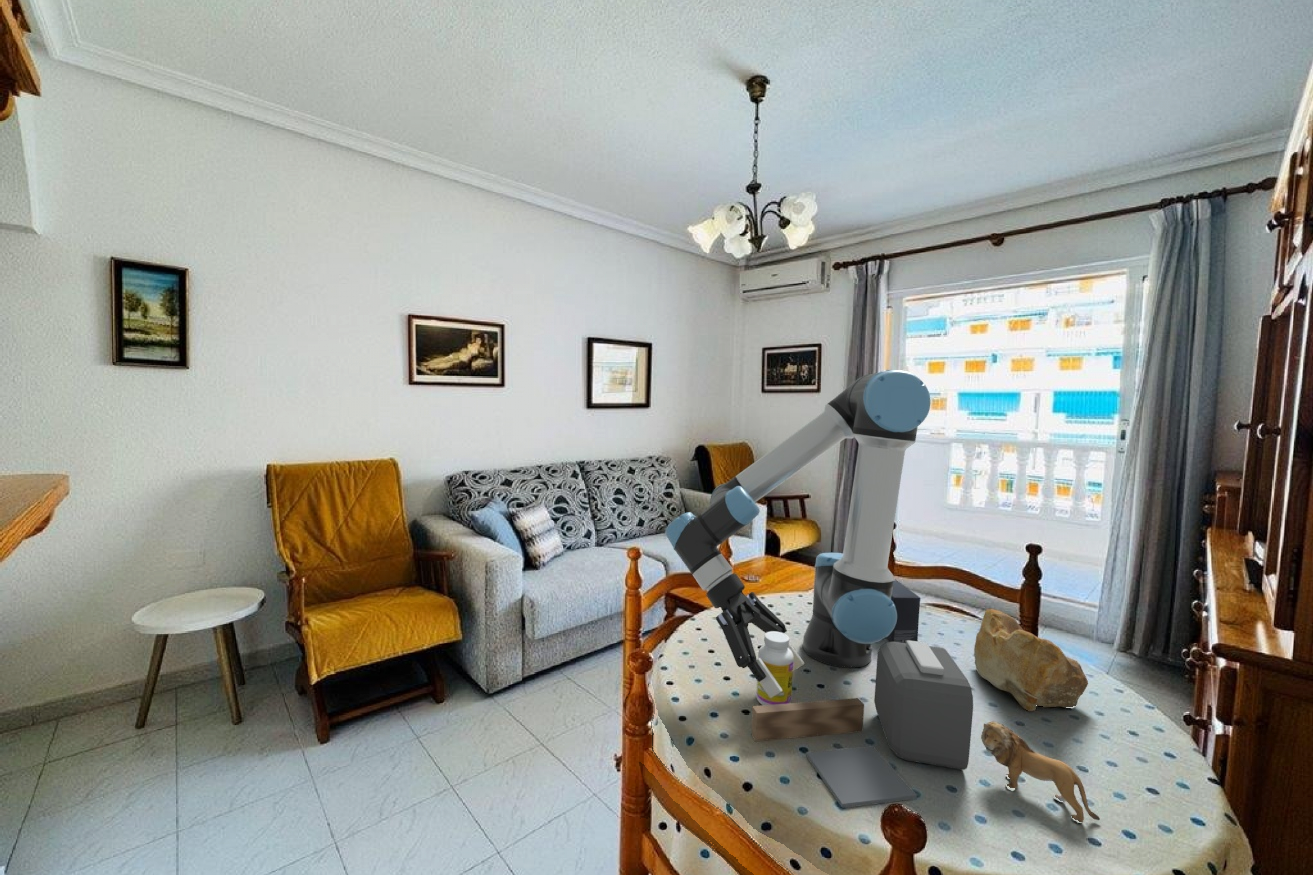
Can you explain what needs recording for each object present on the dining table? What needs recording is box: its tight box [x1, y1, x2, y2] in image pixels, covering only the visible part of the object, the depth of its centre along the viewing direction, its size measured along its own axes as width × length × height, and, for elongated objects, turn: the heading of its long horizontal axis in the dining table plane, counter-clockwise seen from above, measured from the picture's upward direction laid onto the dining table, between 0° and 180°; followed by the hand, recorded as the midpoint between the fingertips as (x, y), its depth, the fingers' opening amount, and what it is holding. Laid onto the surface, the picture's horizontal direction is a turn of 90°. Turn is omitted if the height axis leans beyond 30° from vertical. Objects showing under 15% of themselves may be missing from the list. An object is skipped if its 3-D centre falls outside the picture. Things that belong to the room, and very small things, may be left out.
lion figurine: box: [980, 721, 1101, 823], centre depth 77 cm, size 15×5×9 cm, turn 51°
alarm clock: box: [873, 640, 974, 771], centre depth 90 cm, size 16×11×16 cm
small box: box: [884, 578, 921, 643], centre depth 132 cm, size 13×7×12 cm, turn 2°
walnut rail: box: [750, 697, 865, 742], centre depth 91 cm, size 20×2×5 cm, turn 101°
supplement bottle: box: [755, 631, 794, 706], centre depth 100 cm, size 7×7×13 cm
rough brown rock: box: [973, 608, 1089, 712], centre depth 105 cm, size 23×17×15 cm
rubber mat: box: [805, 745, 918, 809], centre depth 80 cm, size 12×11×1 cm
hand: (788, 680), depth 98 cm, fingers open, 11 cm apart
